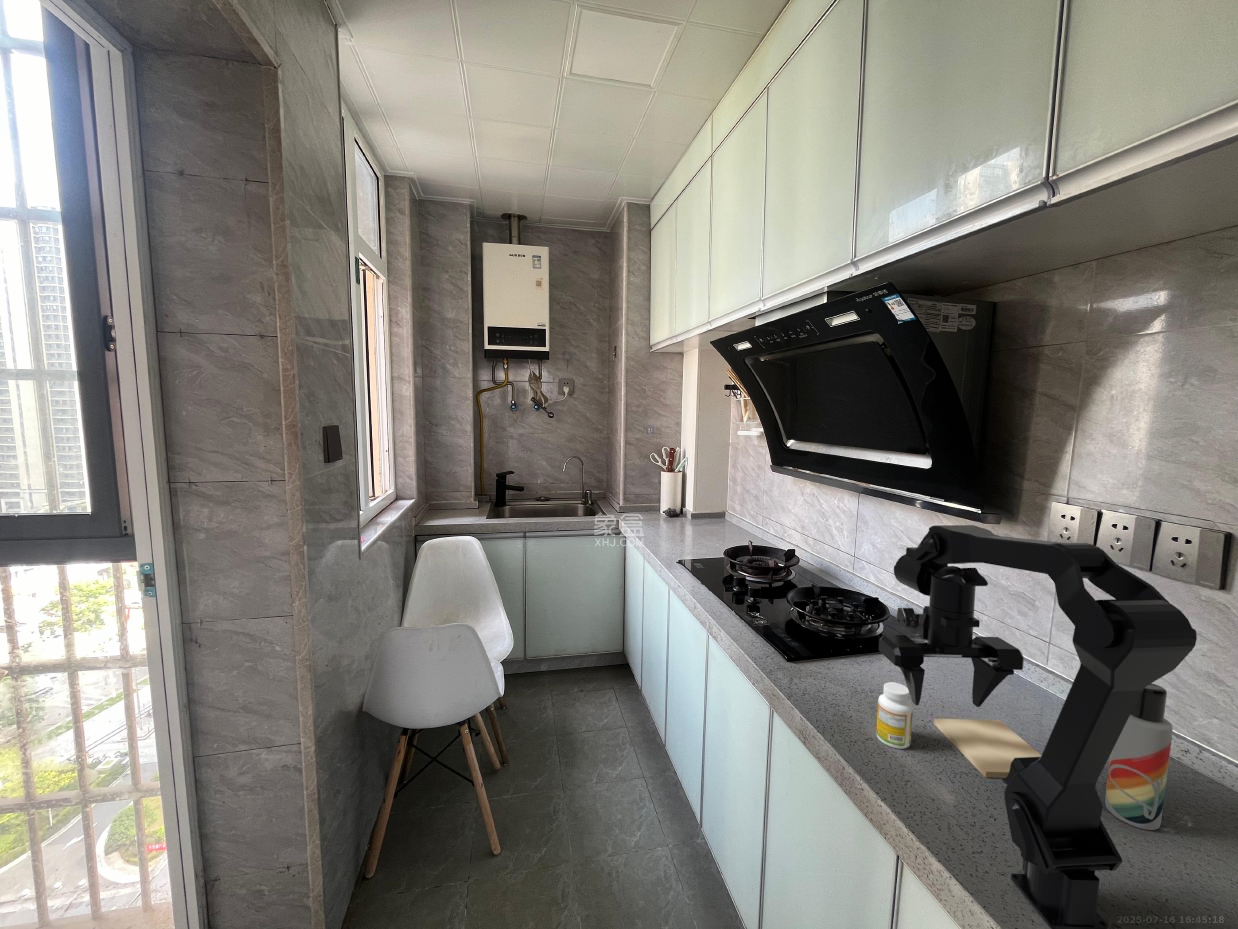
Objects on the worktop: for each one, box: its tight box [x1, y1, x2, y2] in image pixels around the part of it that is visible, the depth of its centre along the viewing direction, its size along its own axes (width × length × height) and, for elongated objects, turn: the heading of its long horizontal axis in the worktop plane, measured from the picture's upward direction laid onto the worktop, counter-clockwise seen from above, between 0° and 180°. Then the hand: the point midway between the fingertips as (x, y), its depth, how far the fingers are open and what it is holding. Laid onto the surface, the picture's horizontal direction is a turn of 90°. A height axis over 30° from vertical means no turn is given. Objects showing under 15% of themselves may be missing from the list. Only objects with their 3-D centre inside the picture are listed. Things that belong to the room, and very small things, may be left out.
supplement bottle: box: [875, 681, 914, 750], centre depth 89 cm, size 5×5×10 cm
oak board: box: [933, 718, 1042, 779], centre depth 87 cm, size 14×12×1 cm
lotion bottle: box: [1104, 683, 1174, 831], centre depth 72 cm, size 6×6×20 cm
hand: (945, 704), depth 78 cm, fingers open, 9 cm apart
